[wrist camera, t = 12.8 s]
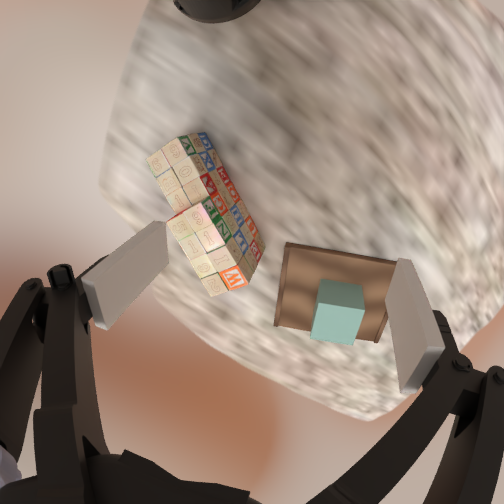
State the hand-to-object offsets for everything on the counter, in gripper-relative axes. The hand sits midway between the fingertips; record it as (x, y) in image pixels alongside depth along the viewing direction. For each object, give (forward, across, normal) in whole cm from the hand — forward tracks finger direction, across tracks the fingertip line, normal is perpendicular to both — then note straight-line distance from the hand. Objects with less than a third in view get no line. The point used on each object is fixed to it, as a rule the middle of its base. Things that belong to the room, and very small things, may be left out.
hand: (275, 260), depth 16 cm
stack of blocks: (+30, -14, -7) cm, 34 cm away
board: (+29, +8, -21) cm, 37 cm away
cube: (+28, +8, -21) cm, 36 cm away
